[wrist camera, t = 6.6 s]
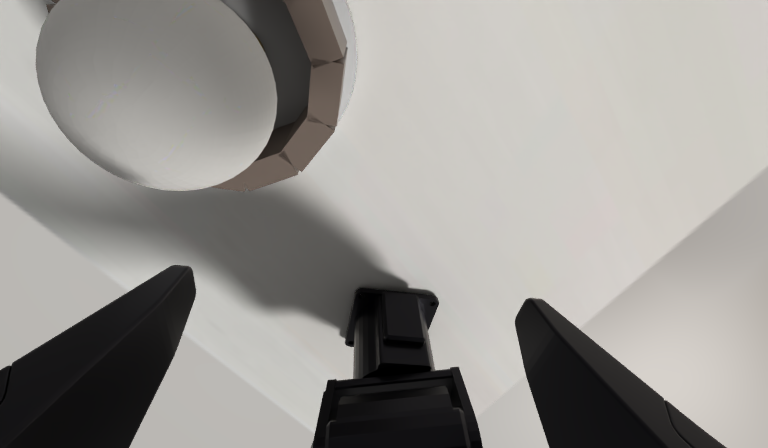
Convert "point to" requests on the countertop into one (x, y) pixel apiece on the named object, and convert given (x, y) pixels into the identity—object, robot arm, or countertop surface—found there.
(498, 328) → the countertop surface
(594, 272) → the countertop surface
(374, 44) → the countertop surface
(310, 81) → the socket
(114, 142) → the light bulb
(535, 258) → the countertop surface
